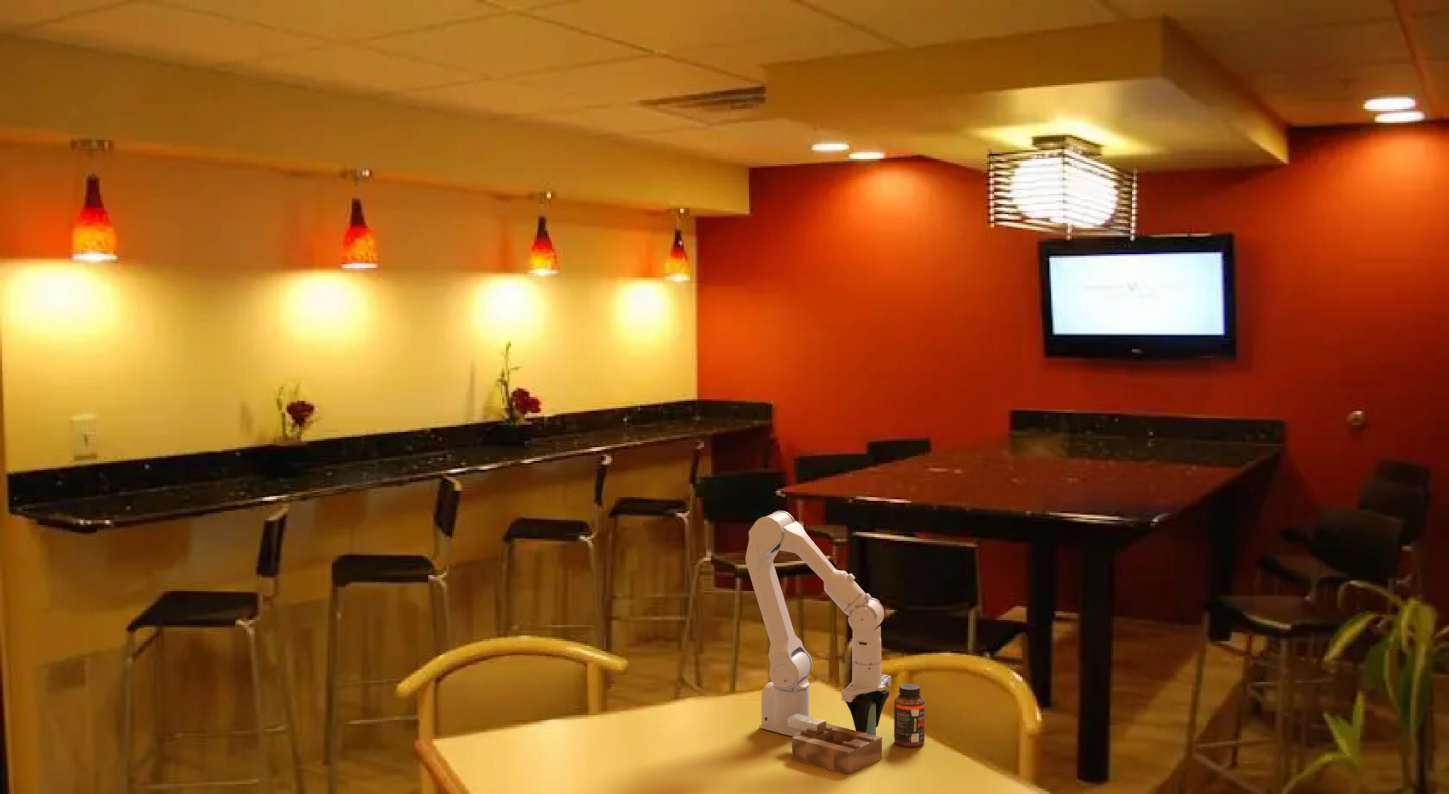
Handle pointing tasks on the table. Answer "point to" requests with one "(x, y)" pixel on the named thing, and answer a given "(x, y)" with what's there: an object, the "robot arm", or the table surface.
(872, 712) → the peg
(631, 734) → the table surface
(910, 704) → the supplement bottle
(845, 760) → the dock
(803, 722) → the tan rectangular block
